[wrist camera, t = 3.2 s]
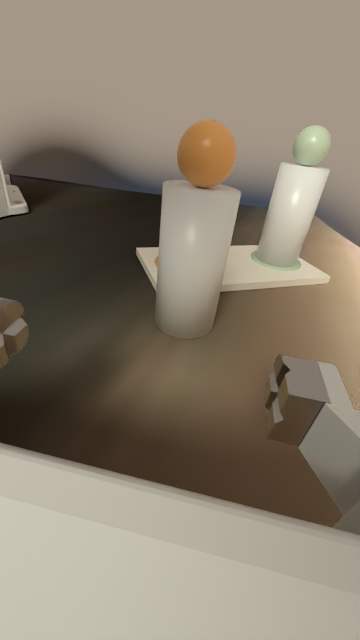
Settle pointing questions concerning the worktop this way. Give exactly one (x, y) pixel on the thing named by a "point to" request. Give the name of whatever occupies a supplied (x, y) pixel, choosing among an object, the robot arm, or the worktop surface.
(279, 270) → the card
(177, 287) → the orange ball tube
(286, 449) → the worktop surface
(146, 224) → the worktop surface
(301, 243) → the green ball tube
